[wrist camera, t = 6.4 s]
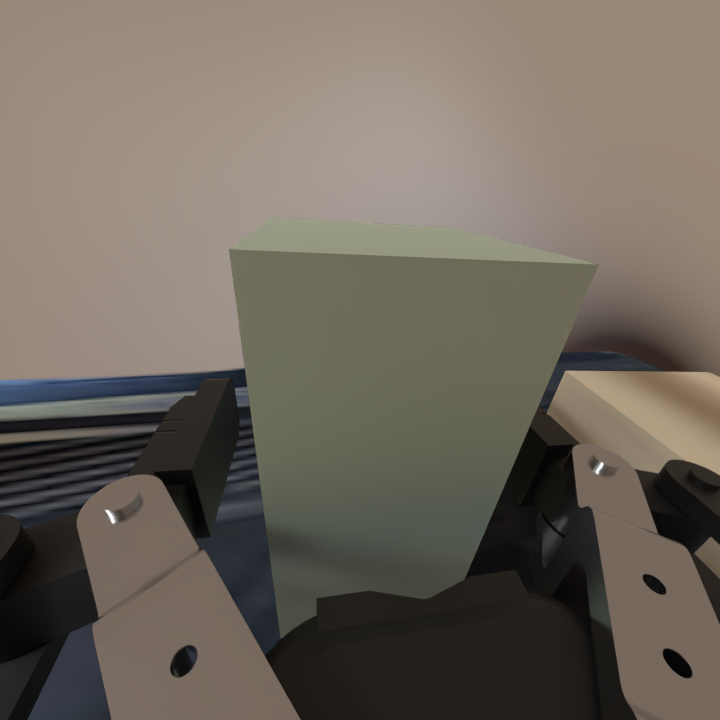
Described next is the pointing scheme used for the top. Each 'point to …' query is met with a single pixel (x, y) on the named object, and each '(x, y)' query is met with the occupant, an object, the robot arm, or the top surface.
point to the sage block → (390, 394)
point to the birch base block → (646, 421)
